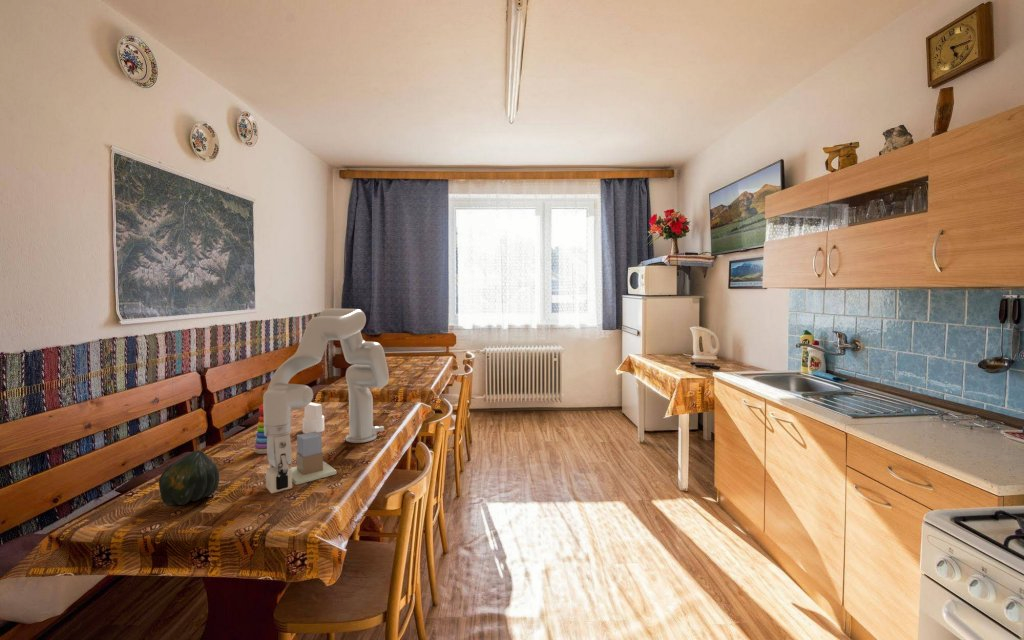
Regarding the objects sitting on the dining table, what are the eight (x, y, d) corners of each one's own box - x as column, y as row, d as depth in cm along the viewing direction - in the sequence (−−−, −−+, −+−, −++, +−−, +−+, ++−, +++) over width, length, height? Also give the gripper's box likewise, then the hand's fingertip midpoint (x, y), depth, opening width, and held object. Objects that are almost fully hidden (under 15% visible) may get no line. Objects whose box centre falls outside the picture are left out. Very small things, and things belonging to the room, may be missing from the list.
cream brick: (286, 481, 147) (286, 463, 147) (292, 487, 143) (291, 469, 143) (266, 487, 143) (265, 468, 143) (271, 493, 139) (270, 474, 139)
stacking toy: (267, 455, 171) (266, 406, 170) (249, 453, 173) (247, 405, 172) (282, 448, 179) (281, 401, 178) (264, 446, 181) (263, 400, 180)
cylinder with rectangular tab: (328, 429, 204) (328, 403, 203) (310, 434, 196) (309, 407, 196) (316, 426, 209) (315, 400, 208) (298, 431, 201) (297, 404, 200)
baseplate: (322, 463, 163) (322, 443, 163) (336, 474, 154) (336, 453, 154) (283, 472, 155) (283, 452, 154) (296, 484, 145) (295, 462, 145)
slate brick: (315, 448, 158) (315, 431, 158) (321, 452, 154) (321, 435, 153) (297, 452, 154) (296, 435, 154) (303, 457, 150) (302, 439, 149)
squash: (135, 491, 127) (170, 452, 127) (174, 472, 142) (206, 437, 142) (173, 525, 127) (208, 486, 127) (209, 503, 142) (240, 467, 142)
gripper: (299, 432, 138) (300, 490, 139) (282, 420, 151) (283, 473, 152) (272, 437, 133) (273, 497, 134) (257, 425, 146) (258, 479, 147)
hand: (279, 484), depth 143 cm, fingers closed on cream brick, 6 cm apart
